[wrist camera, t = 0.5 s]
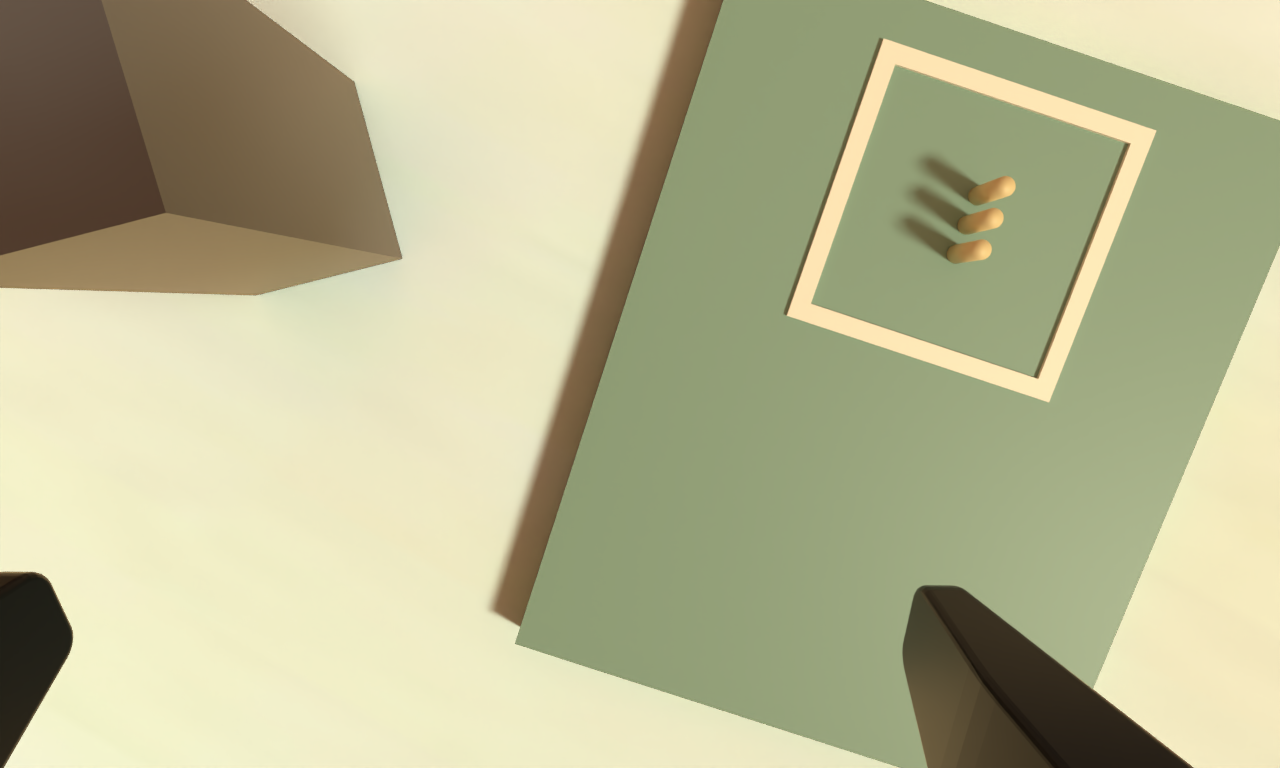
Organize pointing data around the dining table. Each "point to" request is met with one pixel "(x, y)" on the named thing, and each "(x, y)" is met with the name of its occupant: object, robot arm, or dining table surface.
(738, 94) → the board
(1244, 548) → the dining table surface
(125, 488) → the dining table surface
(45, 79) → the plug block
